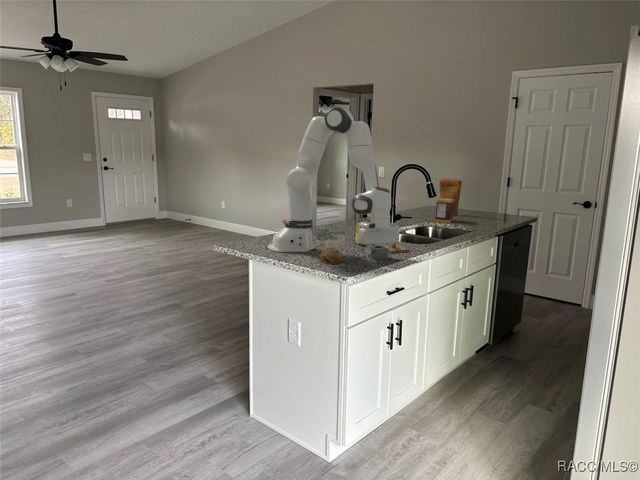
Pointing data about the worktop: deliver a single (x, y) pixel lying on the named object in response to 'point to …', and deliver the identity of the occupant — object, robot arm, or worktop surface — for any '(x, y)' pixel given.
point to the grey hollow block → (379, 252)
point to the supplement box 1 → (357, 233)
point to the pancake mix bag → (450, 191)
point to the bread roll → (331, 256)
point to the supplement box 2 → (445, 210)
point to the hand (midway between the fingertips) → (378, 253)
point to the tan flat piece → (396, 249)
